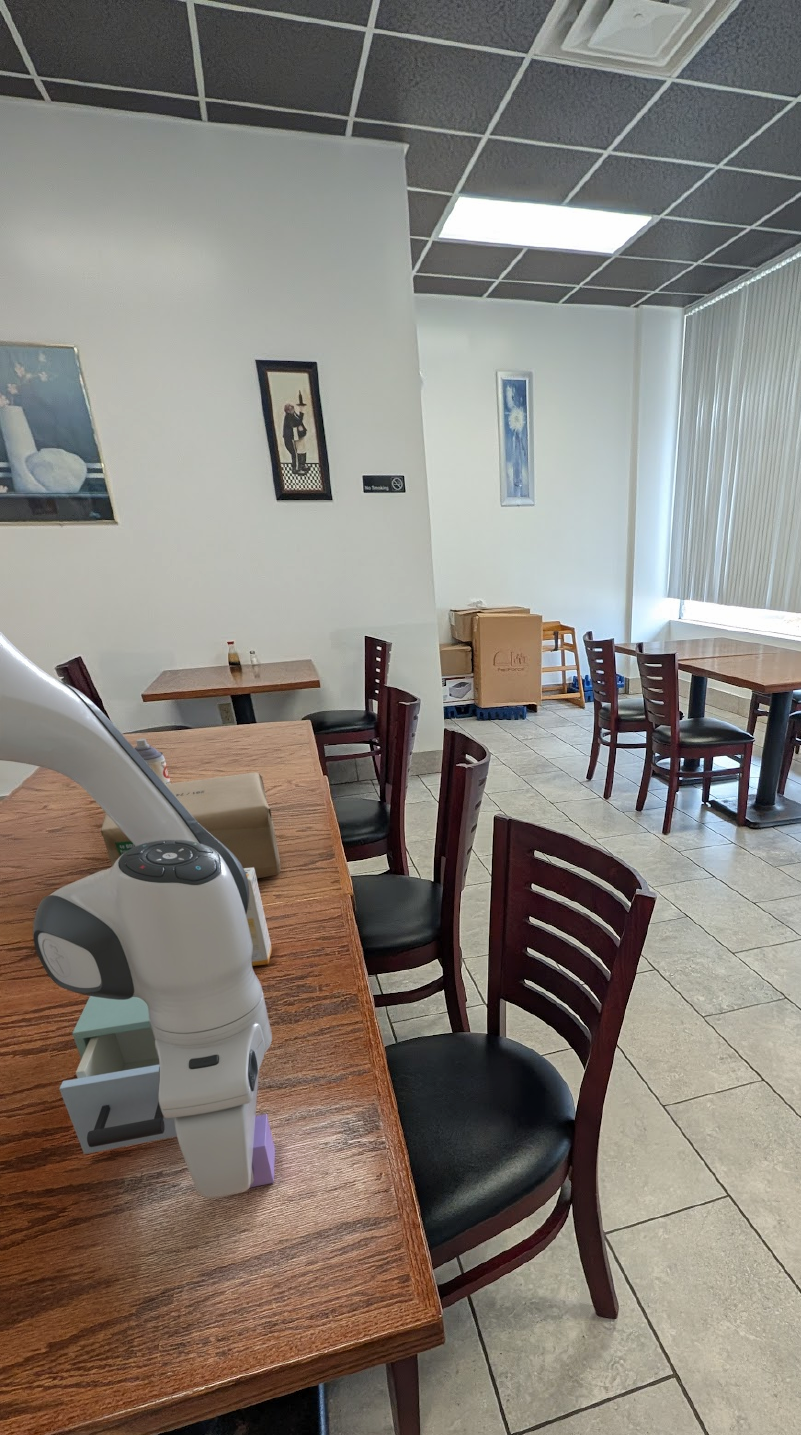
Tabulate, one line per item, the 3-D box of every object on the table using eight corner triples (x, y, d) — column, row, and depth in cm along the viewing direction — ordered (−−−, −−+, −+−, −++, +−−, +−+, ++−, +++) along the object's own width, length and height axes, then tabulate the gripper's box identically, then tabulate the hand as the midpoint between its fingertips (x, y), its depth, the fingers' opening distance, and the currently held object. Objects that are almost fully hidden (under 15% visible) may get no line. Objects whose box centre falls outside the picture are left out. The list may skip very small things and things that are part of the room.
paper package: (119, 907, 124) (95, 827, 118) (129, 857, 146) (110, 786, 140) (286, 879, 133) (272, 803, 127) (273, 835, 155) (260, 768, 148)
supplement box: (273, 949, 109) (256, 865, 103) (269, 965, 105) (251, 879, 99) (213, 955, 108) (193, 871, 102) (207, 972, 104) (185, 885, 98)
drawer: (205, 1165, 69) (186, 1098, 66) (70, 1192, 67) (42, 1124, 63) (222, 1051, 85) (208, 992, 82) (114, 1070, 83) (94, 1010, 79)
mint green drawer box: (226, 1086, 81) (206, 1011, 77) (99, 1109, 78) (71, 1033, 74) (235, 1015, 94) (219, 947, 90) (126, 1032, 91) (105, 963, 87)
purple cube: (222, 1193, 67) (212, 1155, 65) (227, 1159, 71) (217, 1122, 69) (273, 1182, 68) (265, 1145, 66) (275, 1149, 72) (266, 1113, 70)
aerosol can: (186, 836, 156) (163, 740, 147) (151, 844, 152) (125, 745, 143) (178, 828, 161) (155, 734, 152) (144, 835, 157) (118, 739, 149)
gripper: (190, 977, 71) (220, 1094, 77) (153, 1117, 53) (197, 1254, 59) (259, 967, 73) (283, 1082, 79) (246, 1100, 55) (279, 1235, 61)
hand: (246, 1157), depth 69 cm, fingers closed on purple cube, 4 cm apart
